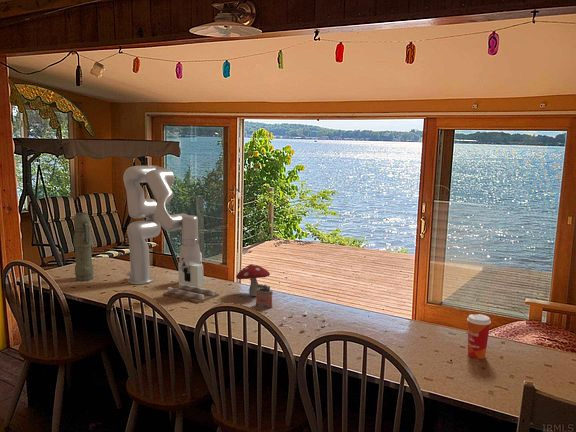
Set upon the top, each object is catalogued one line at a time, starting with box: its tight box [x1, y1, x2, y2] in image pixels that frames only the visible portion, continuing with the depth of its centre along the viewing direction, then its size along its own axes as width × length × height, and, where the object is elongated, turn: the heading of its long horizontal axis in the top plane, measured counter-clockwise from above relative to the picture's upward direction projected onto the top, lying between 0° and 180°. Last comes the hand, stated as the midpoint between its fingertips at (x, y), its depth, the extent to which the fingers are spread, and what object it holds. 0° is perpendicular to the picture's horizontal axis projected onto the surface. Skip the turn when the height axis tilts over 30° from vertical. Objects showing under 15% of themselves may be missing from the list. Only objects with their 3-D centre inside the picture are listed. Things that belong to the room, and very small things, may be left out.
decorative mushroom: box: [235, 263, 271, 297], centre depth 238 cm, size 16×16×15 cm
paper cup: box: [466, 313, 492, 360], centre depth 172 cm, size 8×8×14 cm
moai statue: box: [72, 212, 94, 282], centre depth 261 cm, size 9×12×35 cm
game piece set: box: [280, 309, 329, 332], centre depth 203 cm, size 19×20×4 cm
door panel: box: [177, 262, 205, 288], centre depth 236 cm, size 12×4×10 cm, turn 58°
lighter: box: [255, 283, 273, 309], centre depth 222 cm, size 8×3×10 cm, turn 65°
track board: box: [163, 283, 219, 304], centre depth 237 cm, size 22×14×3 cm, turn 58°
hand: (190, 279), depth 236 cm, fingers closed on door panel, 4 cm apart
